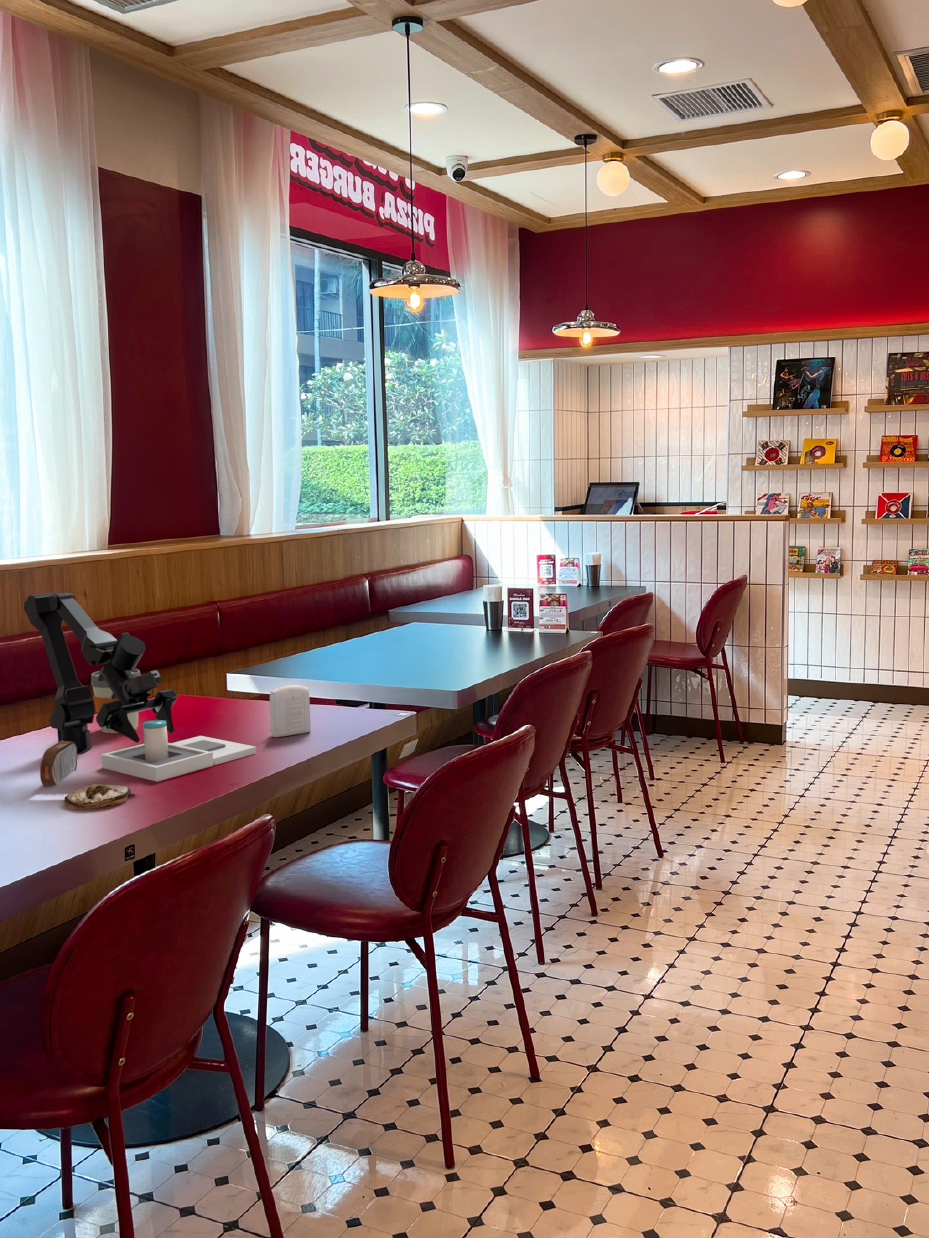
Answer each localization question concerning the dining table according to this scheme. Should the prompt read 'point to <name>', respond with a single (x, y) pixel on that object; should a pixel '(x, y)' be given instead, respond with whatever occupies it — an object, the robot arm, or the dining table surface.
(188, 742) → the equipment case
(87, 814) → the dining table surface
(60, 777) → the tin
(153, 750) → the ball
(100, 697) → the reusable coffee cup
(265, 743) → the dining table surface
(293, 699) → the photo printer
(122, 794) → the brown topped flatbread
